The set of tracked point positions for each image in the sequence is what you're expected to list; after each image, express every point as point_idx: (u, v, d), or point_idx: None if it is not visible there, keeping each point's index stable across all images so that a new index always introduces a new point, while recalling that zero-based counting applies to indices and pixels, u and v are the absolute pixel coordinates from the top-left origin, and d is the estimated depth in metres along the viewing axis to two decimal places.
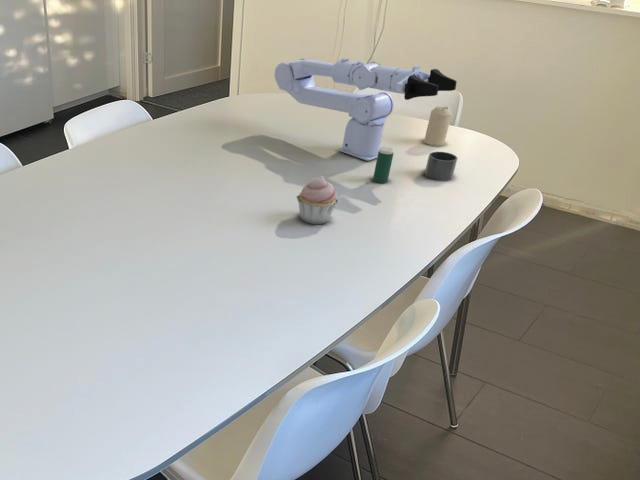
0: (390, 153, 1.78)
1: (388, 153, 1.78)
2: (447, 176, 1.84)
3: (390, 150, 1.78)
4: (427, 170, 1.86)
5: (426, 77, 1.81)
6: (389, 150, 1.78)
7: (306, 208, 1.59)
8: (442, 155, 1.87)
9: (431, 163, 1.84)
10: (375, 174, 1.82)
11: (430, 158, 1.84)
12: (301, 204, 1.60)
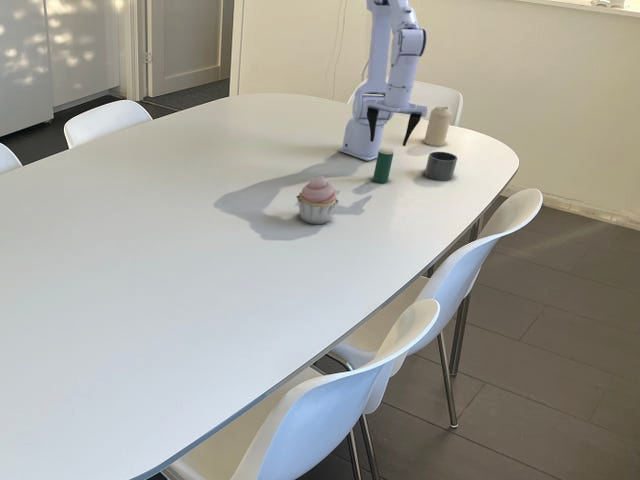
0: (390, 153, 1.78)
1: (388, 153, 1.78)
2: (447, 176, 1.84)
3: (390, 150, 1.78)
4: (427, 170, 1.86)
5: None
6: (389, 150, 1.78)
7: (306, 208, 1.59)
8: (442, 155, 1.87)
9: (431, 163, 1.84)
10: (375, 174, 1.82)
11: (430, 158, 1.84)
12: (301, 204, 1.60)
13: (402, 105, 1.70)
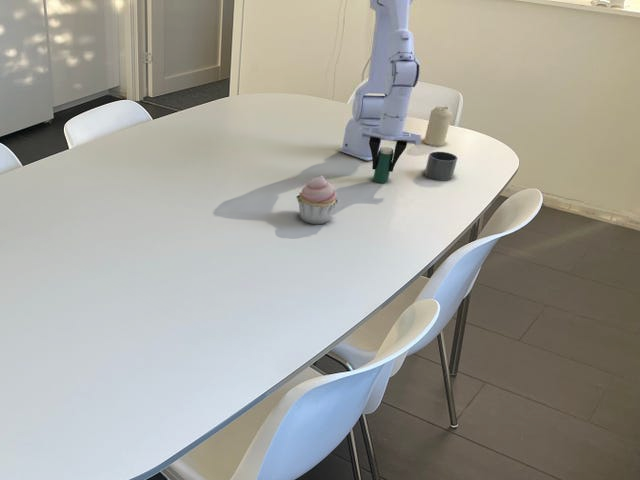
0: (390, 153, 1.78)
1: (388, 153, 1.78)
2: (447, 176, 1.84)
3: (390, 150, 1.78)
4: (427, 170, 1.86)
5: None
6: (389, 150, 1.78)
7: (306, 208, 1.59)
8: (442, 155, 1.87)
9: (431, 163, 1.84)
10: (375, 174, 1.82)
11: (430, 158, 1.84)
12: (301, 204, 1.60)
13: (396, 134, 1.74)
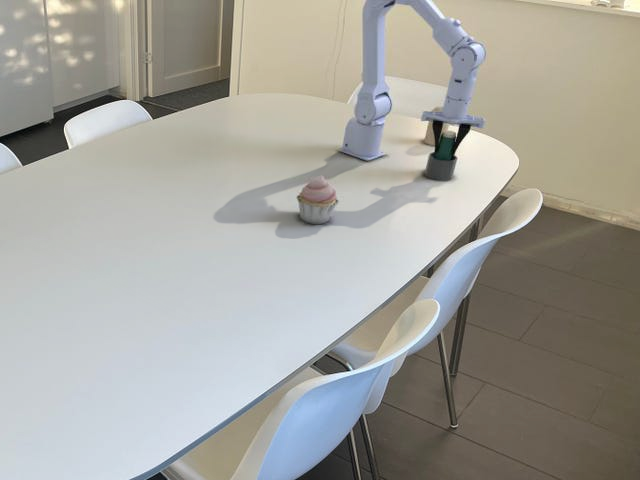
0: (453, 136, 1.80)
1: (451, 136, 1.80)
2: (447, 176, 1.84)
3: (453, 133, 1.80)
4: (427, 170, 1.86)
5: None
6: (452, 133, 1.80)
7: (306, 208, 1.59)
8: None
9: (431, 163, 1.84)
10: (437, 158, 1.84)
11: (430, 158, 1.84)
12: (301, 204, 1.60)
13: (460, 117, 1.76)
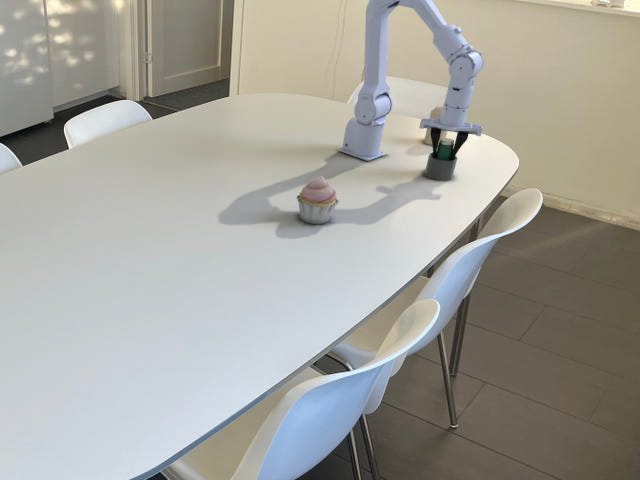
0: (451, 144, 1.81)
1: (449, 144, 1.81)
2: (447, 176, 1.84)
3: (451, 141, 1.81)
4: (427, 170, 1.86)
5: None
6: (450, 141, 1.81)
7: (306, 208, 1.59)
8: None
9: (431, 163, 1.84)
10: None
11: (430, 158, 1.84)
12: (301, 204, 1.60)
13: (458, 125, 1.77)
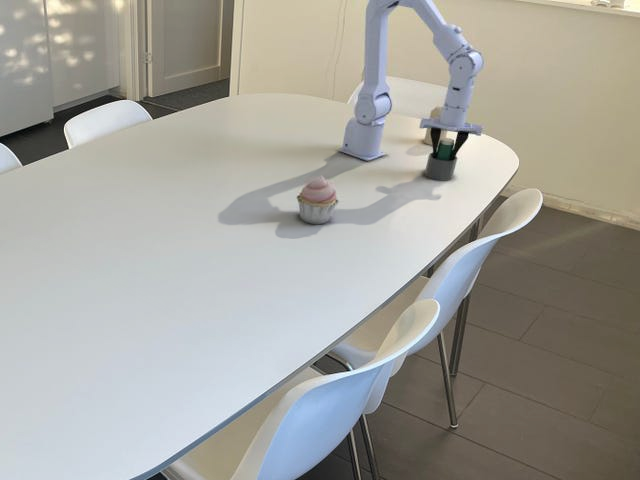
0: (451, 144, 1.81)
1: (449, 144, 1.81)
2: (447, 176, 1.84)
3: (451, 141, 1.81)
4: (427, 170, 1.86)
5: None
6: (450, 141, 1.81)
7: (306, 208, 1.59)
8: None
9: (431, 163, 1.84)
10: None
11: (430, 158, 1.84)
12: (301, 204, 1.60)
13: (458, 124, 1.77)
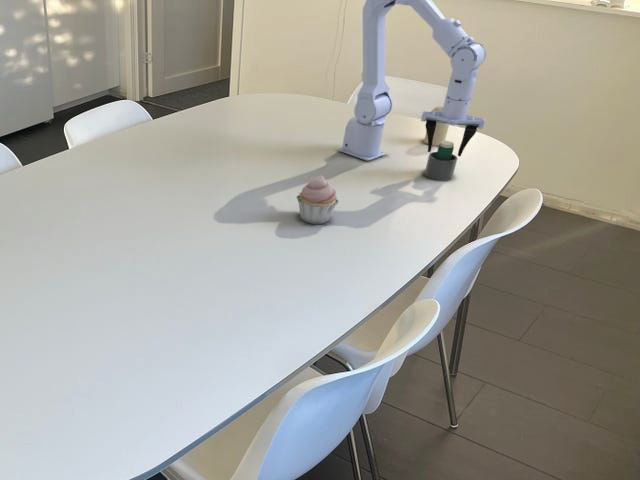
0: (451, 147, 1.81)
1: (449, 147, 1.81)
2: (447, 176, 1.84)
3: (451, 144, 1.81)
4: (427, 170, 1.86)
5: None
6: (450, 144, 1.81)
7: (306, 208, 1.59)
8: None
9: (431, 163, 1.84)
10: None
11: (430, 158, 1.84)
12: (301, 204, 1.60)
13: (460, 117, 1.76)
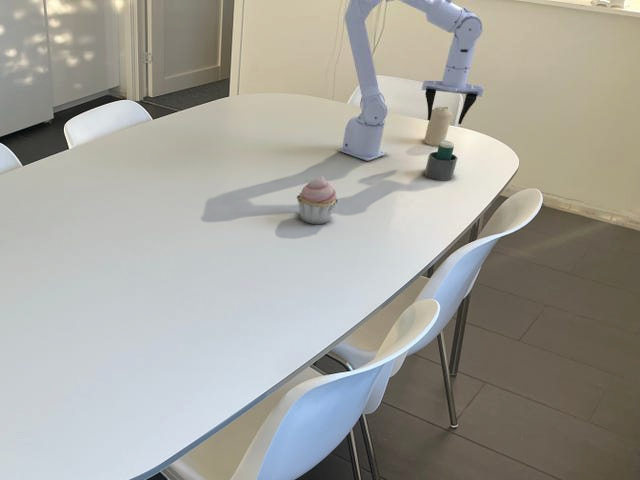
0: (451, 147, 1.81)
1: (449, 147, 1.81)
2: (447, 176, 1.84)
3: (451, 144, 1.81)
4: (427, 170, 1.86)
5: None
6: (450, 144, 1.81)
7: (306, 208, 1.59)
8: None
9: (431, 163, 1.84)
10: None
11: (430, 158, 1.84)
12: (301, 204, 1.60)
13: (460, 85, 1.82)
